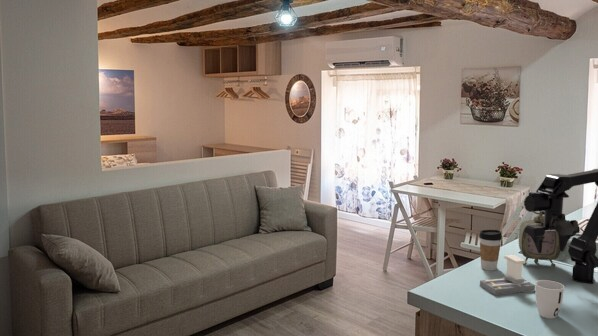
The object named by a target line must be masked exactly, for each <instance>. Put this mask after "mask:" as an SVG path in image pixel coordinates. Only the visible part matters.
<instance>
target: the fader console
mask: <svg viewBox="0 0 598 336" xmlns="http://www.w3.org/2000/svg"><path fill="white" fill-rule="evenodd" d="M521 278H523V276H521ZM479 286H480V287H481V288H483V289H485V290H486V291H487V292H489V293H490V294H492V295H494V296H498V295H507V294H508V295H509V293H510V294H517V292H519V293H526V292H525V291H528V292H534V291H533V290H535V291H536V289H535V284H534V283H532V282H531V281H530V280H526V279H524V282H522V283H513V282H511V281H509V280H507V279H505V278H504V277H502V278H501V277H500V278H491V279H481V280H479Z"/></svg>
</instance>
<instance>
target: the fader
mask: <svg viewBox="0 0 598 336" xmlns="http://www.w3.org/2000/svg"><path fill="white" fill-rule="evenodd" d="M503 259H505V260H506V271H505V272H506V273H504V274H503V277H502V278H505V279H507V280H509V281H511V282H513V283H522V282H524V280H525V278H523V277H522V269H523V264H524V263H525V259H523V258H522V257H519V256H517V255H514V254H507V255H506V254H505V255H504V257H503ZM521 277H522V278H521Z"/></svg>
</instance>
